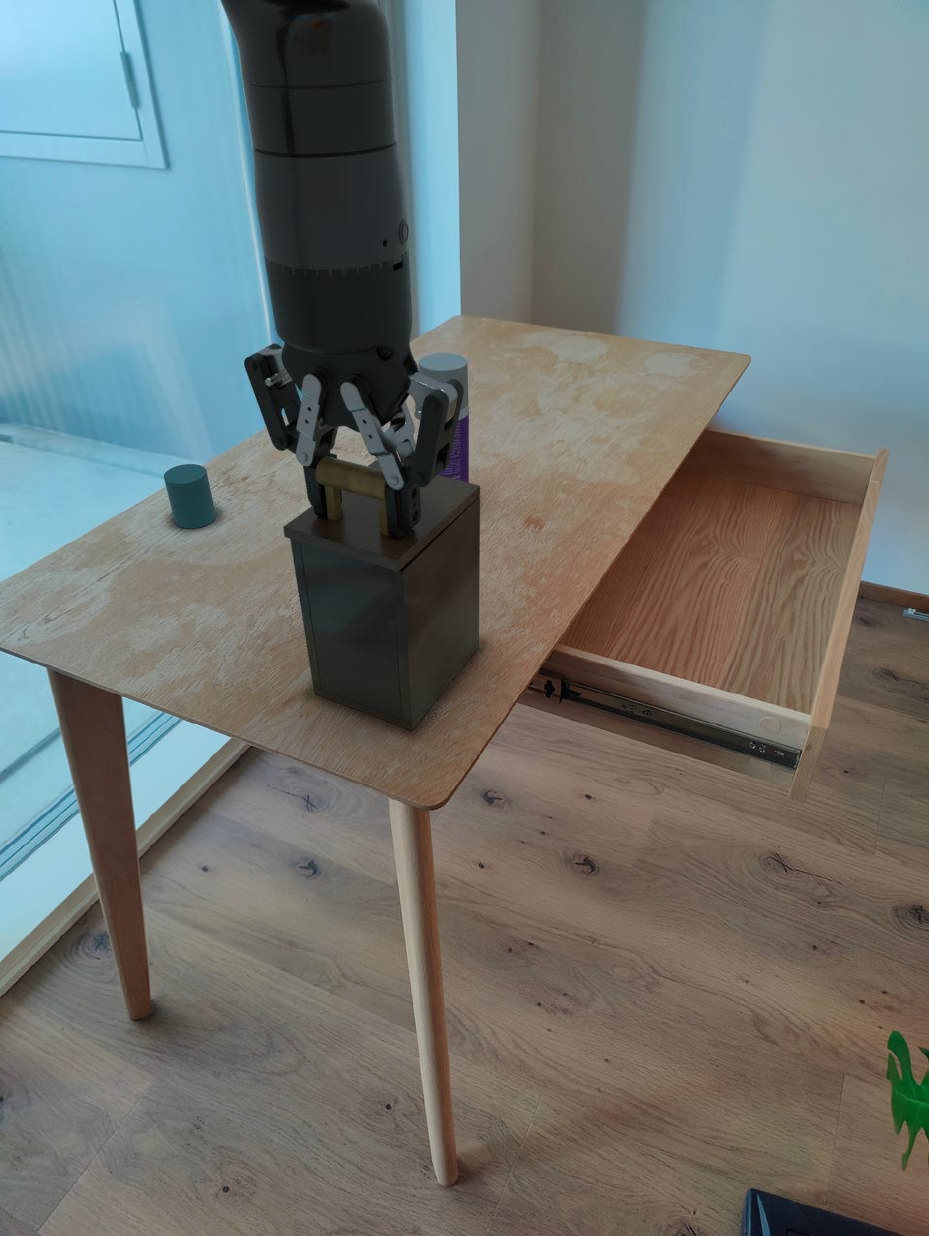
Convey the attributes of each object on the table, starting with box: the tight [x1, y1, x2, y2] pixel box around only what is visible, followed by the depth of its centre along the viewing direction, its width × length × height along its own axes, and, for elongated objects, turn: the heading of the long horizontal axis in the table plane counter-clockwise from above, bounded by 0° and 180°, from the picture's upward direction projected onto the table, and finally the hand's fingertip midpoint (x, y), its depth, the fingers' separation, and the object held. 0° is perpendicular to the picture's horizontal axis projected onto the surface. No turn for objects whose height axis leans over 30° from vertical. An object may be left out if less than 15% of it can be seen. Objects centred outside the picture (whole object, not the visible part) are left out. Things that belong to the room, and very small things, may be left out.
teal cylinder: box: [163, 463, 217, 530], centre depth 82 cm, size 4×4×5 cm
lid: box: [282, 456, 481, 571], centre depth 55 cm, size 11×9×5 cm
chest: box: [289, 495, 481, 732], centre depth 61 cm, size 11×9×14 cm
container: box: [418, 352, 470, 483], centre depth 80 cm, size 5×5×15 cm
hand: (365, 520), depth 54 cm, fingers closed on lid, 5 cm apart
